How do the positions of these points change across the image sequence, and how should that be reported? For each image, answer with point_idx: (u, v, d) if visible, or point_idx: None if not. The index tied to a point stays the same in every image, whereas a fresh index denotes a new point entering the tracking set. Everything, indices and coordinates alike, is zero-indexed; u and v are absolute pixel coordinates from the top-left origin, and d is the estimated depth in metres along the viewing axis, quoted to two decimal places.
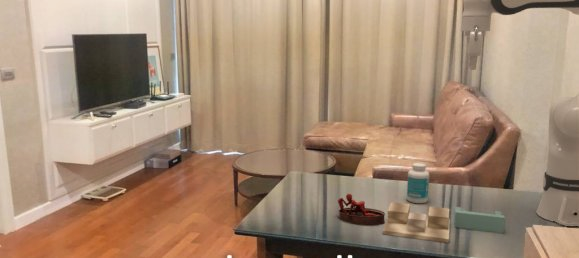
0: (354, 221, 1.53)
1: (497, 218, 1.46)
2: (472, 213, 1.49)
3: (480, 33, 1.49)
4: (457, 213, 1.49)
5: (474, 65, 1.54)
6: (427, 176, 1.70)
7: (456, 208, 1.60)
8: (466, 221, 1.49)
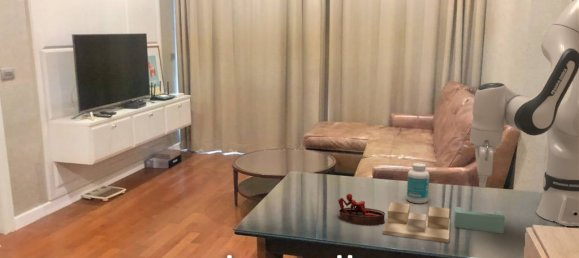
0: (354, 221, 1.53)
1: (497, 218, 1.46)
2: (472, 213, 1.49)
3: (491, 152, 1.35)
4: (457, 213, 1.49)
5: (484, 183, 1.41)
6: (427, 176, 1.70)
7: (456, 208, 1.60)
8: (466, 221, 1.49)
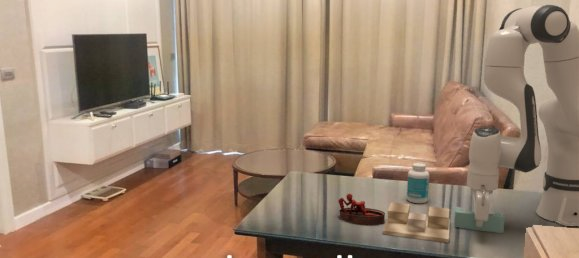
0: (354, 221, 1.53)
1: (497, 218, 1.46)
2: (472, 213, 1.49)
3: (487, 198, 1.38)
4: (457, 213, 1.49)
5: (480, 222, 1.46)
6: (427, 176, 1.70)
7: (456, 208, 1.60)
8: (466, 221, 1.49)
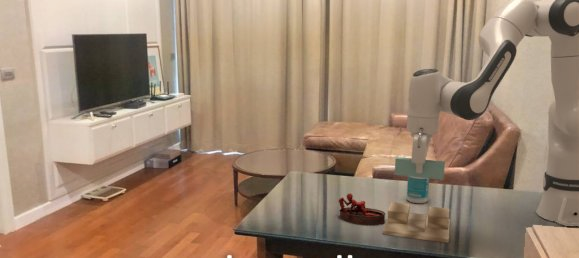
0: (354, 221, 1.53)
1: (437, 164, 1.40)
2: None
3: (424, 139, 1.32)
4: (397, 159, 1.44)
5: (420, 168, 1.41)
6: None
7: None
8: (405, 168, 1.43)
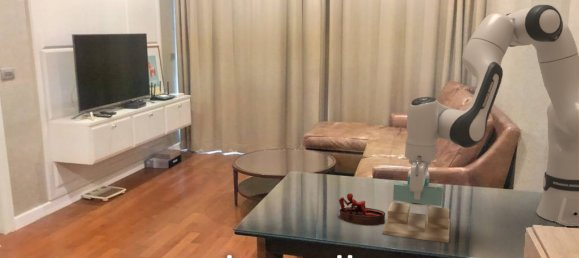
0: (354, 220, 1.53)
1: (435, 190, 1.42)
2: None
3: (422, 168, 1.34)
4: (395, 185, 1.46)
5: (418, 195, 1.42)
6: (427, 176, 1.70)
7: (398, 182, 1.56)
8: (404, 194, 1.45)
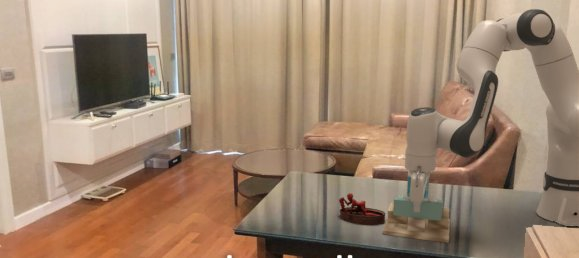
0: (354, 220, 1.54)
1: (435, 205, 1.42)
2: None
3: (422, 179, 1.35)
4: (395, 200, 1.46)
5: (418, 207, 1.41)
6: None
7: (398, 196, 1.56)
8: (404, 208, 1.46)
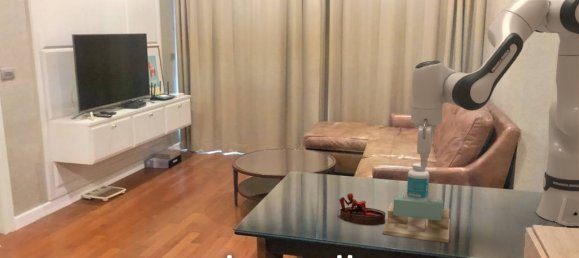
0: (354, 220, 1.54)
1: (435, 205, 1.42)
2: (410, 200, 1.45)
3: (429, 130, 1.34)
4: (395, 200, 1.46)
5: (425, 162, 1.39)
6: (427, 176, 1.70)
7: (398, 196, 1.56)
8: (404, 208, 1.46)
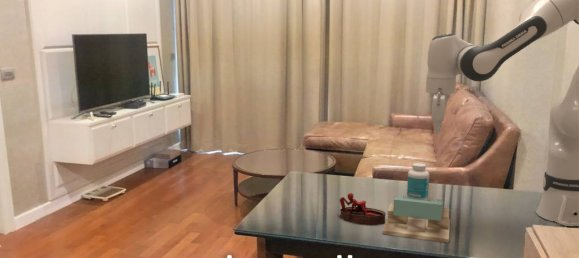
0: (354, 220, 1.54)
1: (435, 205, 1.42)
2: (410, 200, 1.45)
3: (443, 98, 1.42)
4: (395, 200, 1.46)
5: (438, 129, 1.48)
6: (427, 176, 1.70)
7: (398, 196, 1.56)
8: (404, 208, 1.46)
